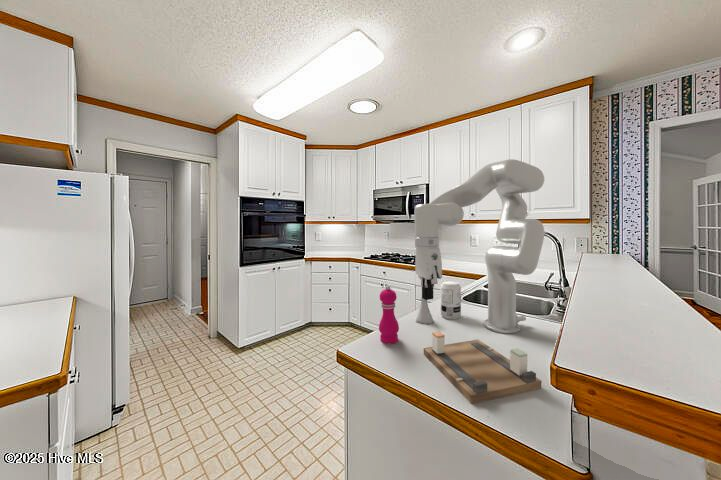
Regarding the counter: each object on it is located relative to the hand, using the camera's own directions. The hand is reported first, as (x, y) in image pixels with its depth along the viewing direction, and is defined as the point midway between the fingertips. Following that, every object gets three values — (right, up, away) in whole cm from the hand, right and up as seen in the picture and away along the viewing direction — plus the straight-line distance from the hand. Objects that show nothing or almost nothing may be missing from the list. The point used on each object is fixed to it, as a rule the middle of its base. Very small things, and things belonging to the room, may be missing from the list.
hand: (427, 298), depth 88 cm
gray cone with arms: (+5, -15, +25) cm, 30 cm away
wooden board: (+11, -18, -11) cm, 23 cm away
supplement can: (+17, -14, +29) cm, 37 cm away
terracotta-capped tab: (+2, -15, -5) cm, 16 cm away
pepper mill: (-12, -17, +9) cm, 23 cm away
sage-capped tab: (+19, -15, -17) cm, 30 cm away
